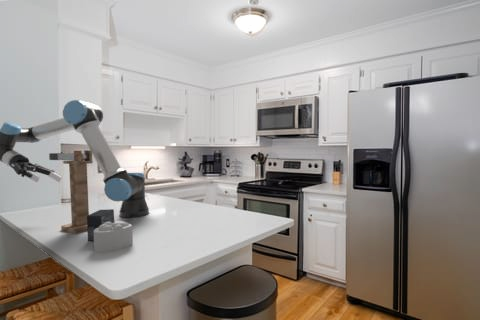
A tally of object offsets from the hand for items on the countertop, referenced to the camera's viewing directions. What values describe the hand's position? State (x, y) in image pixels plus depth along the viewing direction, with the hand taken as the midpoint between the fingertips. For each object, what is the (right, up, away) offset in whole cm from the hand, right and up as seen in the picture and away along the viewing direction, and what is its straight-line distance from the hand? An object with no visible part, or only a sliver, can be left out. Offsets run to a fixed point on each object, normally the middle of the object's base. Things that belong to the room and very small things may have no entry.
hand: (49, 179), depth 136 cm
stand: (+20, -22, -9) cm, 31 cm away
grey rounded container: (+45, -23, -32) cm, 60 cm away
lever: (+14, +10, -7) cm, 18 cm away
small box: (+36, -23, -21) cm, 47 cm away
